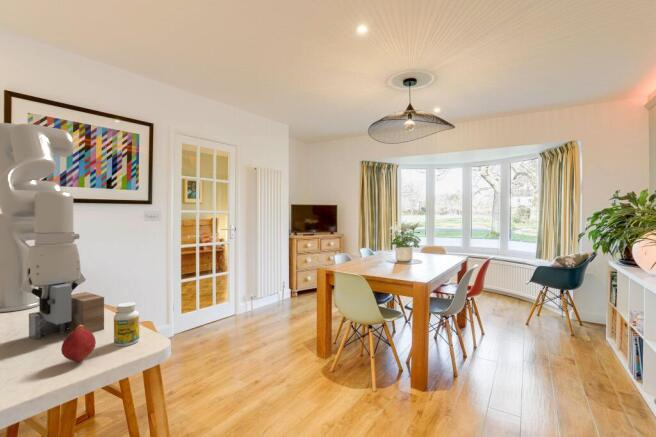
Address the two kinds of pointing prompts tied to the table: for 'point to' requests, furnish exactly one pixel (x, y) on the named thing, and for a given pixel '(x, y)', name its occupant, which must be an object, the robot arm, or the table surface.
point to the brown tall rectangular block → (87, 312)
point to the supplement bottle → (126, 324)
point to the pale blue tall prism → (58, 304)
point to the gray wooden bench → (43, 326)
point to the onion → (78, 344)
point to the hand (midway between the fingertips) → (55, 310)
